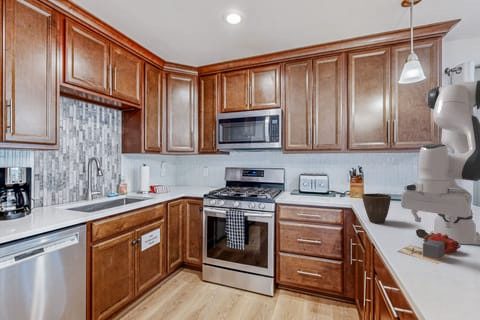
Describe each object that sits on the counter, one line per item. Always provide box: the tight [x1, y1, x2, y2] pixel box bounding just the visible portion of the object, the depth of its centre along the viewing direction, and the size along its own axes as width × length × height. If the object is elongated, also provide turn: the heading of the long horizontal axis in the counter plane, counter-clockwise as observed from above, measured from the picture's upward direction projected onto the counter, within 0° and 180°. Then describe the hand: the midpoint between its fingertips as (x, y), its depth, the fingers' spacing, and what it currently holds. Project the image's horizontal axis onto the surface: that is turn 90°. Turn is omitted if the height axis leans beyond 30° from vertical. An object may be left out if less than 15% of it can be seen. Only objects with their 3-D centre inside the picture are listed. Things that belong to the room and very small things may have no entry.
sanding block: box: [422, 240, 446, 261], centre depth 88 cm, size 7×4×5 cm, turn 124°
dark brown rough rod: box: [415, 228, 429, 240], centre depth 105 cm, size 19×4×5 cm, turn 158°
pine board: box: [396, 244, 450, 264], centre depth 91 cm, size 12×13×2 cm
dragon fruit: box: [423, 233, 462, 254], centre depth 94 cm, size 8×8×12 cm
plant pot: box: [361, 193, 392, 225], centre depth 140 cm, size 15×15×16 cm
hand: (433, 224), depth 87 cm, fingers open, 8 cm apart
